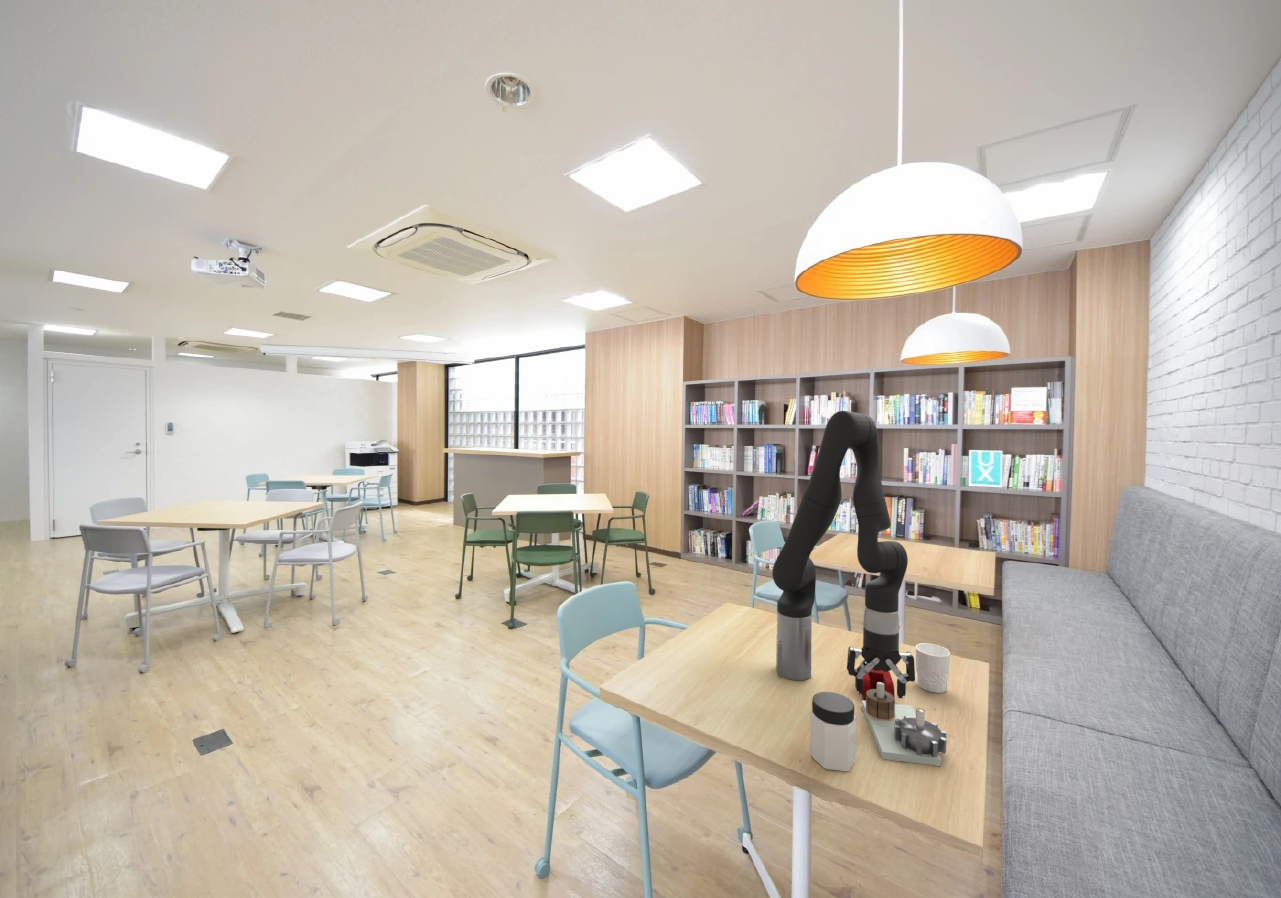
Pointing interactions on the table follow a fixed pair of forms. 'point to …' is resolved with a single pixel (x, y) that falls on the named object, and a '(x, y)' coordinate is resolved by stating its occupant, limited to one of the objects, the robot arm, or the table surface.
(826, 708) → the jar
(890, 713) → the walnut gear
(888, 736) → the board
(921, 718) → the fixed gear
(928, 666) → the white cup
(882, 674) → the mechanical linkage
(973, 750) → the table surface
